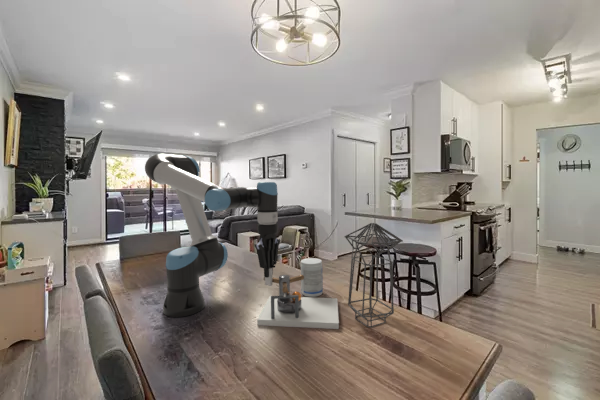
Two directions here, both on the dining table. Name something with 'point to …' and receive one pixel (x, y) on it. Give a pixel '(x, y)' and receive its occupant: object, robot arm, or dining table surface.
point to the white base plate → (301, 313)
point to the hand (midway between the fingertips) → (268, 284)
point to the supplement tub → (311, 277)
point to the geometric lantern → (375, 229)
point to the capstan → (287, 293)
